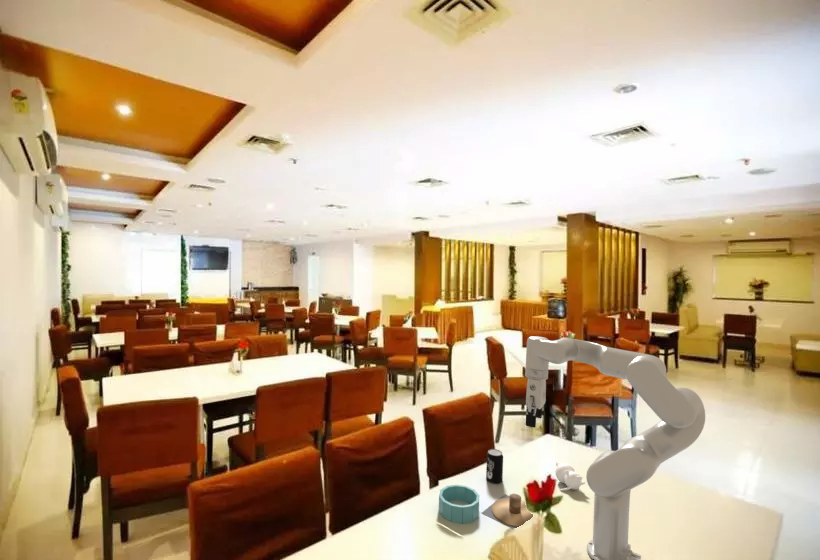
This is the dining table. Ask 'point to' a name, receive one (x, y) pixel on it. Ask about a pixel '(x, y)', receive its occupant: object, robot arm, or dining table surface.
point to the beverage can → (494, 466)
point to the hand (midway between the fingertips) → (533, 421)
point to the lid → (511, 510)
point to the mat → (489, 513)
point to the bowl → (459, 504)
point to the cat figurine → (568, 476)
